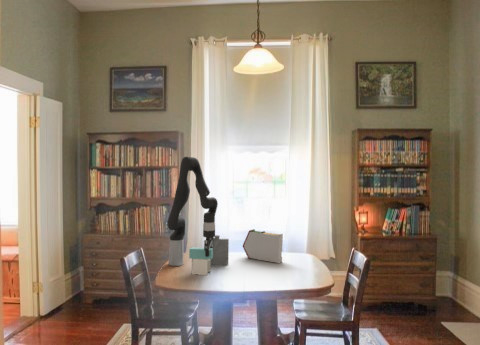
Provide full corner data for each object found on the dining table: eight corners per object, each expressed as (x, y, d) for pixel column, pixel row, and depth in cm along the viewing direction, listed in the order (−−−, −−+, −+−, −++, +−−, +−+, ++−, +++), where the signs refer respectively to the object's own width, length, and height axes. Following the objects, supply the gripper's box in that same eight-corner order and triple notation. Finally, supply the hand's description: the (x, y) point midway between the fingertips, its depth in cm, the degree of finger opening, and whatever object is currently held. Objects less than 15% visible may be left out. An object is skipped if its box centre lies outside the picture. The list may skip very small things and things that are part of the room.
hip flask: (228, 263, 244) (228, 235, 243) (227, 265, 239) (228, 236, 239) (205, 263, 245) (206, 234, 245) (204, 264, 241) (205, 235, 241)
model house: (284, 232, 252) (248, 227, 268) (279, 233, 245) (242, 229, 261) (283, 261, 253) (248, 255, 269) (278, 264, 245) (242, 257, 261)
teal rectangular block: (189, 258, 220) (189, 248, 220) (191, 256, 224) (191, 247, 224) (211, 259, 218) (211, 249, 218) (212, 257, 222) (212, 248, 222)
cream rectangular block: (191, 274, 218) (191, 259, 218) (195, 270, 226) (195, 256, 226) (207, 275, 216) (207, 259, 216) (210, 271, 224) (210, 256, 224)
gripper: (206, 227, 228) (206, 252, 228) (200, 230, 214) (200, 257, 214) (217, 227, 227) (217, 252, 227) (212, 231, 213) (211, 258, 213)
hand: (208, 254), depth 220 cm, fingers open, 8 cm apart
